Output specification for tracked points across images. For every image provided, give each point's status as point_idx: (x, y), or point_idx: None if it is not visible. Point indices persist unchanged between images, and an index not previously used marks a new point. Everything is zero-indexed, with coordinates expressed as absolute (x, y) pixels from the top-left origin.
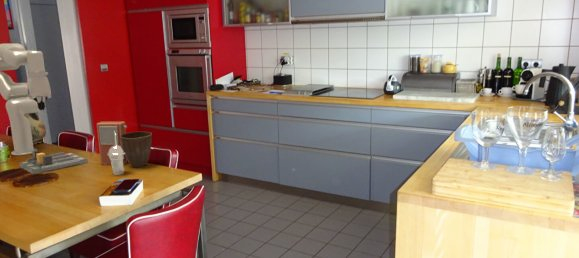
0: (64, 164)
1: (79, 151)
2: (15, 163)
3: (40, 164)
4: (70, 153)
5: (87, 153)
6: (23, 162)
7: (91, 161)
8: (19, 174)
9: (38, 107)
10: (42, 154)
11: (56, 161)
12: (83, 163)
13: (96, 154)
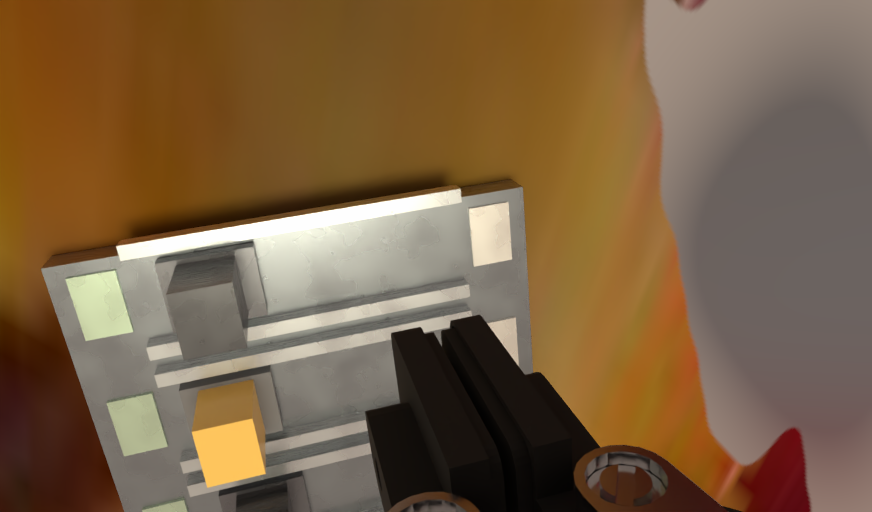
0: (376, 502)
1: (617, 22)
2: (9, 92)
3: (214, 487)
4: (502, 222)
5: (633, 160)
6: (83, 300)
7: None
8: (53, 503)
9: (375, 465)
10: (243, 476)
11: (338, 457)
12: None
13: (664, 246)
